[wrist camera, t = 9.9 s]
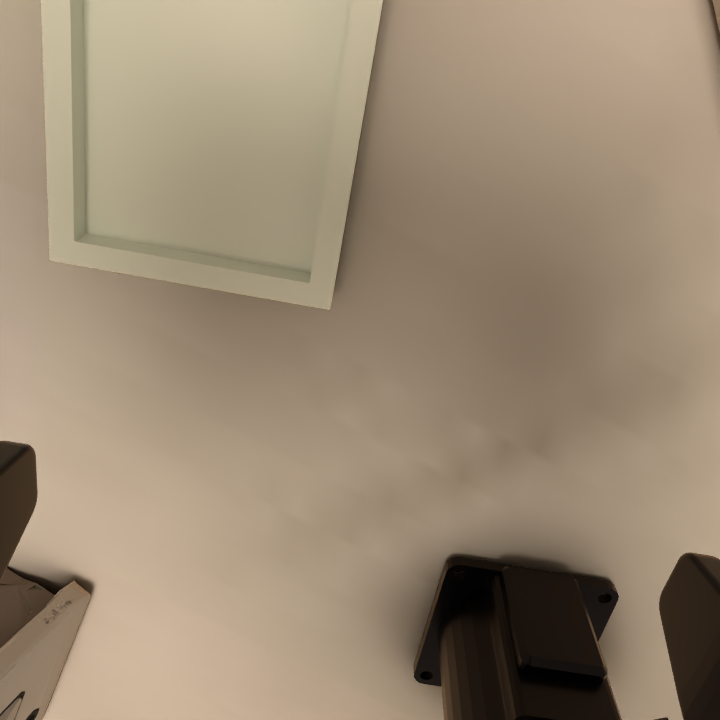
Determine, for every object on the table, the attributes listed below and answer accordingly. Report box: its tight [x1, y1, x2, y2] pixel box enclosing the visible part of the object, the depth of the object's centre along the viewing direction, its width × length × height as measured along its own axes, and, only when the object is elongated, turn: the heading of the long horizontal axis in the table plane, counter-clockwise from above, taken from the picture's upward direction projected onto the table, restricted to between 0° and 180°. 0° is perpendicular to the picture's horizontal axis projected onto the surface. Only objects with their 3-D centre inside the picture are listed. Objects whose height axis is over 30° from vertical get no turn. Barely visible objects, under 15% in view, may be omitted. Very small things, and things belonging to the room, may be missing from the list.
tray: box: [41, 0, 383, 310], centre depth 18 cm, size 9×8×1 cm
